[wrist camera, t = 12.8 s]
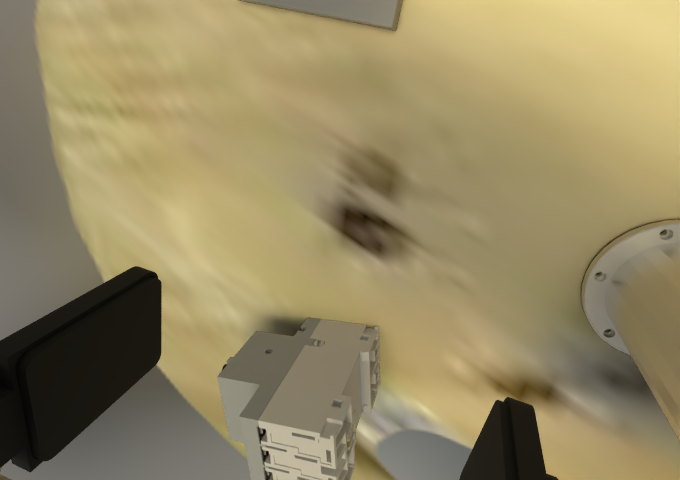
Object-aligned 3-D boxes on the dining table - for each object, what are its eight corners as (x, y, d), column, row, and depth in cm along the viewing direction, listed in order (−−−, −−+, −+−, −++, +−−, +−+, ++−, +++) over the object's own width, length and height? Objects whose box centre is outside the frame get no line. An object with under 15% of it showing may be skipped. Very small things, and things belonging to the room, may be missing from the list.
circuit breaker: (258, 311, 47) (174, 403, 34) (378, 326, 43) (336, 436, 30) (265, 364, 50) (190, 468, 37) (379, 383, 46) (341, 508, 33)
